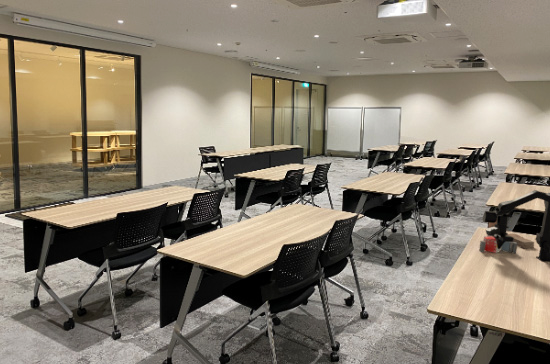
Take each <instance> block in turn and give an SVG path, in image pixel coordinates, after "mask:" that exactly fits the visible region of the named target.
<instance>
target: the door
mask: <svg viewBox="0 0 550 364" xmlns="http://www.w3.org/2000/svg"><path fill="white" fill-rule="evenodd" d="M484 237H486V236H485V235H484V236H483V238H484ZM512 245H513V242H505V243H504V244H503V245H502V246H501V251H503V252H507V253H510V254H512Z"/></svg>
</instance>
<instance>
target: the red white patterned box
mask: <svg viewBox="0 0 550 364" xmlns="http://www.w3.org/2000/svg"><path fill="white" fill-rule="evenodd" d="M482 241H485V242H486V243H485V250H484V252H490V253H494V254H497V253H499V252H501V251H502V250H501V248H500V249H498V247H497V242H496V239H495V238H494V237H493V236H487V235H486V236H485V237H484V236H483V240H482Z"/></svg>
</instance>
